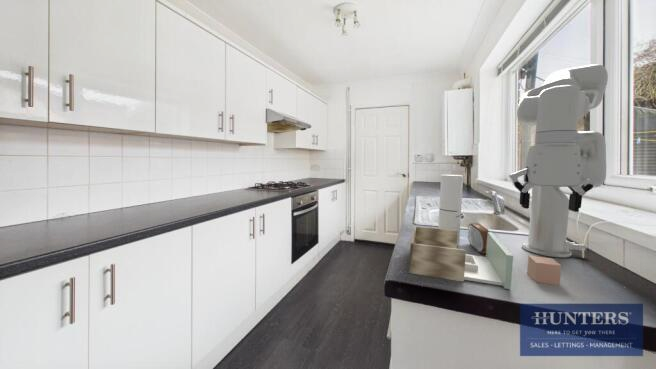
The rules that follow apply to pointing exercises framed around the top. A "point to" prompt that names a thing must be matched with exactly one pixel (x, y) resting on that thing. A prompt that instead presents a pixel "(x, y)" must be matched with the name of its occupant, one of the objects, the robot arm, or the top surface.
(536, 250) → the robot arm
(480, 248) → the tin
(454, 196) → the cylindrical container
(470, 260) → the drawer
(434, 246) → the caddy
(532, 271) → the block
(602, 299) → the top surface
